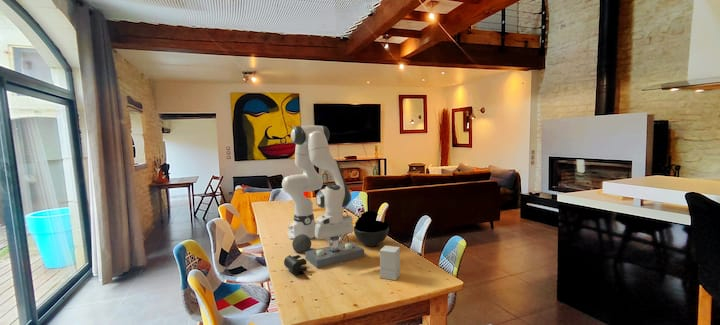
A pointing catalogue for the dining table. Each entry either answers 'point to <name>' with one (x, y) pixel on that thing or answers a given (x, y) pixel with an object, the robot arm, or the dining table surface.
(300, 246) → the decorative ball
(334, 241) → the steel plug
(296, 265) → the end cap
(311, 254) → the block
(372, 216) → the coal bowl
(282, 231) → the dining table surface
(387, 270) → the supplement box
